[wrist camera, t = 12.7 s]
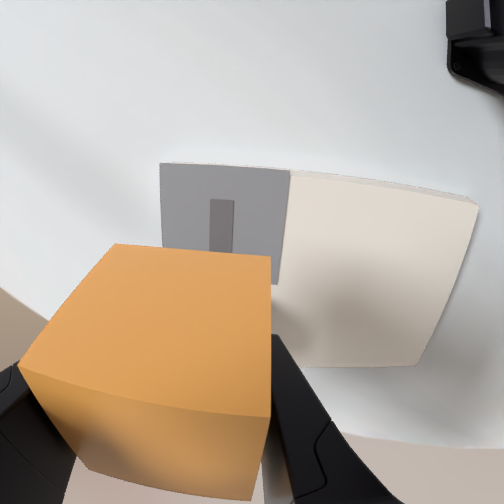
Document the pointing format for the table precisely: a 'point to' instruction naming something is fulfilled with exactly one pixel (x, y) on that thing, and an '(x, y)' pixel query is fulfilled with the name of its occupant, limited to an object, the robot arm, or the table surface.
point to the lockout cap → (162, 369)
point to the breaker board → (329, 253)
